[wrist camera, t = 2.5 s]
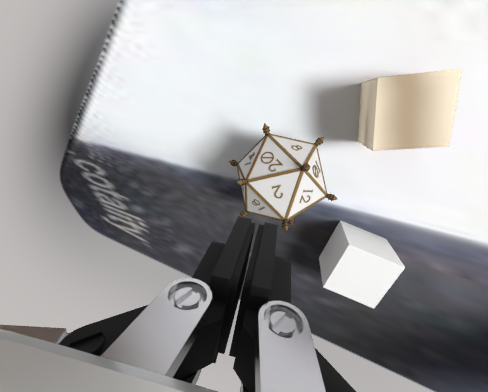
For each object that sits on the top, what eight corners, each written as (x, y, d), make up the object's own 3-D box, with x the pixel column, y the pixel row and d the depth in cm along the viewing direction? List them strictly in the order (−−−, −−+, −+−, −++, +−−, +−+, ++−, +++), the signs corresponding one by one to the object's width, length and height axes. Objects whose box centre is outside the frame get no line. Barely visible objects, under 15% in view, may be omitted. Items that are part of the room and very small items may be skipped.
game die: (266, 163, 30) (191, 163, 23) (323, 112, 24) (246, 92, 17) (301, 234, 27) (228, 258, 20) (374, 195, 21) (307, 211, 15)
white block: (385, 238, 26) (405, 267, 22) (361, 275, 28) (374, 308, 24) (340, 220, 27) (349, 244, 22) (318, 257, 28) (323, 287, 24)
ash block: (425, 76, 21) (462, 68, 16) (418, 137, 23) (449, 146, 18) (360, 83, 22) (377, 77, 18) (357, 141, 24) (372, 150, 19)
